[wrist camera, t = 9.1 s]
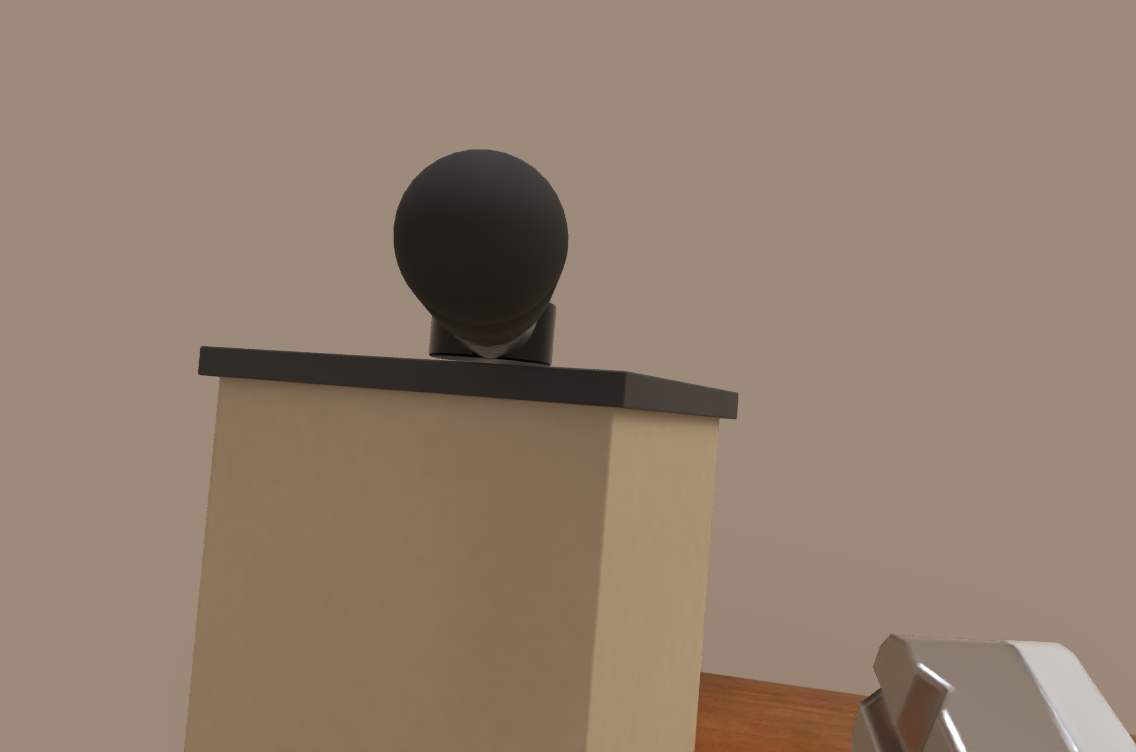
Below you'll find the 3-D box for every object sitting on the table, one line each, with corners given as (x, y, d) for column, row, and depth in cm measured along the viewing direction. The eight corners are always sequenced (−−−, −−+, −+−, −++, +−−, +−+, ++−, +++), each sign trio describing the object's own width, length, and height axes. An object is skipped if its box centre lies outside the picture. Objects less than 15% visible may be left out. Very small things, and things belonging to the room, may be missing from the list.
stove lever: (603, 328, 13) (618, 140, 13) (335, 304, 12) (353, 113, 13) (548, 372, 29) (554, 289, 29) (433, 362, 29) (440, 279, 29)
